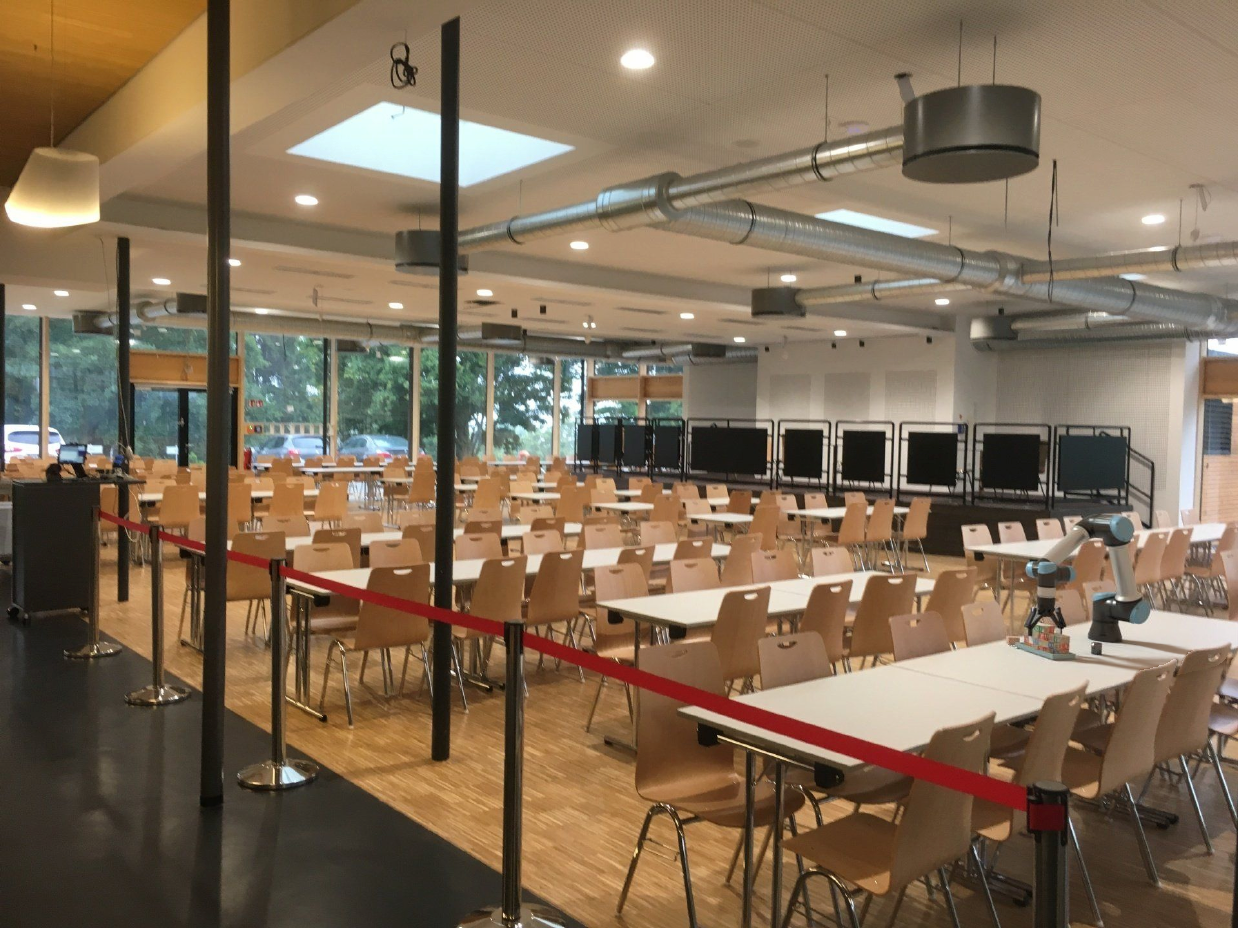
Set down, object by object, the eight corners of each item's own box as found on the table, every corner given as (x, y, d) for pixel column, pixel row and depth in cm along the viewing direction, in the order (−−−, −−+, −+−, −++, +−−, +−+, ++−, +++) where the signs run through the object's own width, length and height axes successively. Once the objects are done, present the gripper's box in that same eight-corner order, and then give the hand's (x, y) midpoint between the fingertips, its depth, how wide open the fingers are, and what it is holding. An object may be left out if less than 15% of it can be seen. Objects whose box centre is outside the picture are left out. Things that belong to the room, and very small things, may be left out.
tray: (1036, 647, 458) (1037, 641, 458) (1075, 659, 432) (1075, 653, 432) (1014, 647, 455) (1015, 642, 455) (1052, 660, 429) (1052, 654, 429)
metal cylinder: (1098, 652, 447) (1098, 641, 447) (1103, 655, 443) (1104, 644, 443) (1089, 652, 447) (1089, 641, 447) (1094, 655, 443) (1094, 644, 443)
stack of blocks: (1069, 657, 434) (1070, 629, 434) (1058, 657, 432) (1059, 630, 432) (1033, 647, 454) (1034, 620, 454) (1023, 647, 452) (1023, 621, 452)
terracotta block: (1017, 644, 463) (1017, 636, 463) (1019, 646, 459) (1019, 637, 459) (1006, 644, 464) (1006, 635, 464) (1008, 645, 460) (1008, 637, 460)
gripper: (1064, 594, 450) (1063, 640, 450) (1016, 595, 444) (1015, 641, 444) (1075, 597, 442) (1074, 644, 443) (1027, 597, 437) (1025, 645, 437)
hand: (1044, 643), depth 444 cm, fingers open, 13 cm apart
